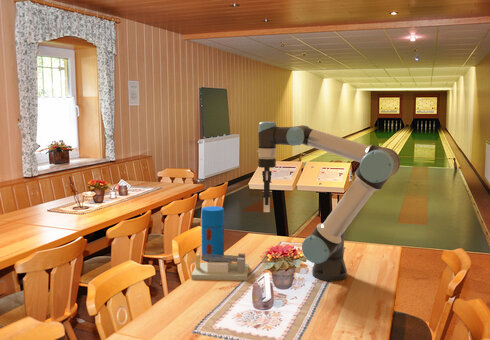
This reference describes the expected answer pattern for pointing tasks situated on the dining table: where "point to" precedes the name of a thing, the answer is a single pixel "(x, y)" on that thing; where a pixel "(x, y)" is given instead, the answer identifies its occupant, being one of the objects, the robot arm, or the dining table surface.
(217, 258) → the clamp lever
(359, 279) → the dining table surface
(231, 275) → the clamp board
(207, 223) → the thermos
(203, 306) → the dining table surface
